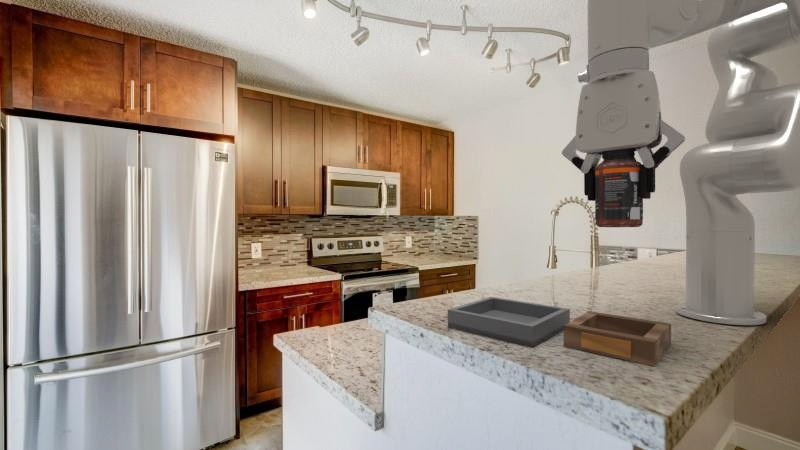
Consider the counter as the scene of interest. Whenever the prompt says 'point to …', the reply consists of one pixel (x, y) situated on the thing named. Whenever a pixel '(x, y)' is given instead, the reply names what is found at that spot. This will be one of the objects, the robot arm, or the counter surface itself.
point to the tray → (509, 320)
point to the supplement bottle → (618, 190)
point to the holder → (619, 337)
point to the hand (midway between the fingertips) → (618, 198)
